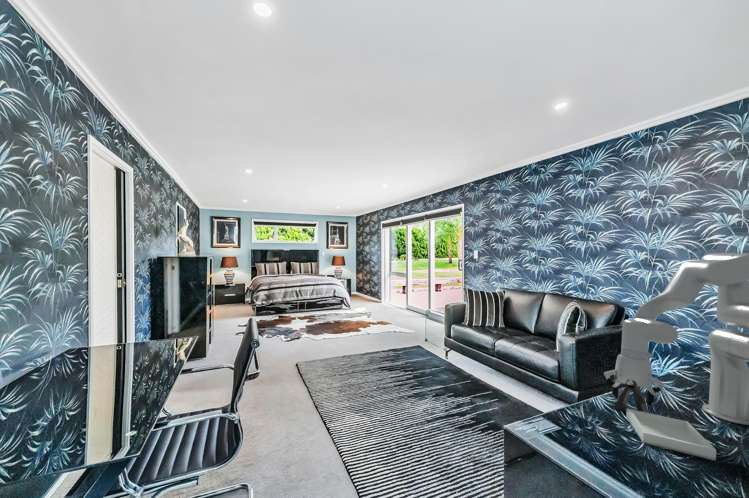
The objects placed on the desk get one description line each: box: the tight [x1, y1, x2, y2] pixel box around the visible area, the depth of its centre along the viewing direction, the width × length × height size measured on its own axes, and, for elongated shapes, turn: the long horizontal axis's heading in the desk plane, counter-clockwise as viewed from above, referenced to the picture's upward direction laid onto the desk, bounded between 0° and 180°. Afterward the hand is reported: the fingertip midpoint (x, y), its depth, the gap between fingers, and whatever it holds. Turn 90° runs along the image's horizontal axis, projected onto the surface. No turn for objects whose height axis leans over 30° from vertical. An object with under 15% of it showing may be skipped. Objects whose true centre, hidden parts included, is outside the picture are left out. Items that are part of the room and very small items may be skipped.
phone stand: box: [613, 380, 650, 413], centre depth 114 cm, size 9×6×12 cm, turn 38°
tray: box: [625, 408, 717, 461], centre depth 98 cm, size 16×17×3 cm
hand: (631, 400), depth 114 cm, fingers open, 9 cm apart
